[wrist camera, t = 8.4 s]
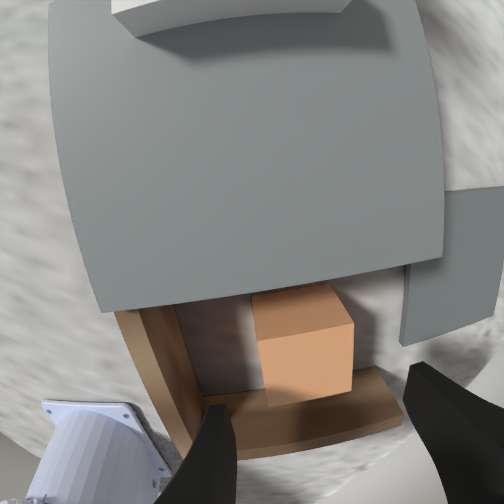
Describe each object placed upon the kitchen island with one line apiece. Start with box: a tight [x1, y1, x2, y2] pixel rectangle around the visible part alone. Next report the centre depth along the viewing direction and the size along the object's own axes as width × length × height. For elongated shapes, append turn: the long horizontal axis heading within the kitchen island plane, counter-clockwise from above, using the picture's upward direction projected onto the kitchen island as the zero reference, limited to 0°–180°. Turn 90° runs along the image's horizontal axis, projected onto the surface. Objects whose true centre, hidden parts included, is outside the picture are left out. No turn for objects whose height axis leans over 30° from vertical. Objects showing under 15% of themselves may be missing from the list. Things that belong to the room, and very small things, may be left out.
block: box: [251, 283, 354, 407], centre depth 15 cm, size 4×4×4 cm
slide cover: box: [48, 0, 444, 313], centre depth 7 cm, size 11×12×3 cm
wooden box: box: [114, 304, 404, 460], centre depth 13 cm, size 22×12×4 cm, turn 8°
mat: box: [399, 186, 504, 347], centre depth 16 cm, size 9×8×1 cm
